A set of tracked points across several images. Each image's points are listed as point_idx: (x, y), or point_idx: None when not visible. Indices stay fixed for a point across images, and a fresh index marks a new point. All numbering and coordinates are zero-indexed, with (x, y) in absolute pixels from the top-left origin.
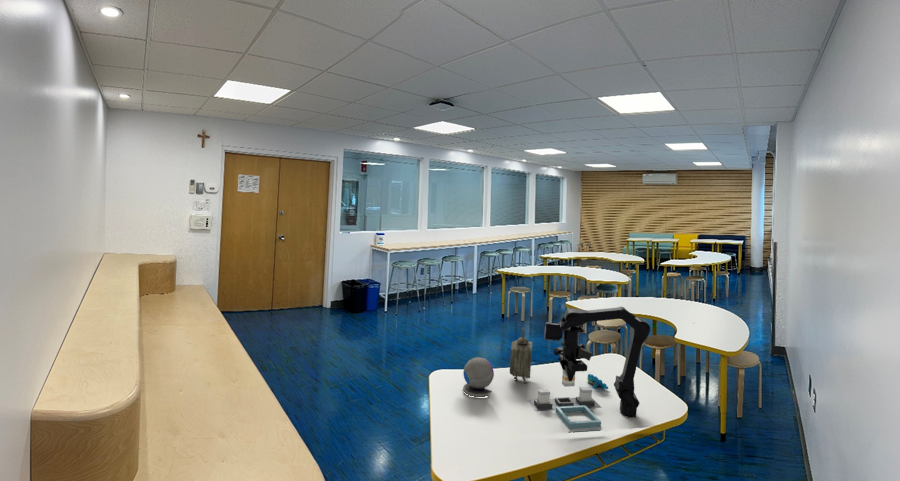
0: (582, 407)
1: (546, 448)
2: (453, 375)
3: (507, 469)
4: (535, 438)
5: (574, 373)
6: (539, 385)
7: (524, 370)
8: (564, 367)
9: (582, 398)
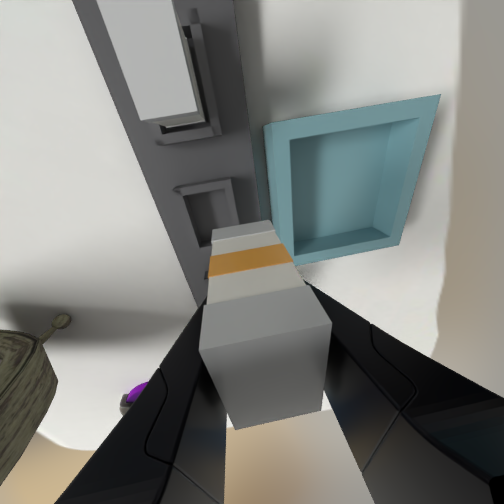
0: (288, 149)
1: (413, 291)
2: (89, 435)
3: (434, 343)
4: (372, 307)
5: (388, 338)
6: (23, 271)
7: (28, 393)
8: (218, 451)
9: (202, 116)
